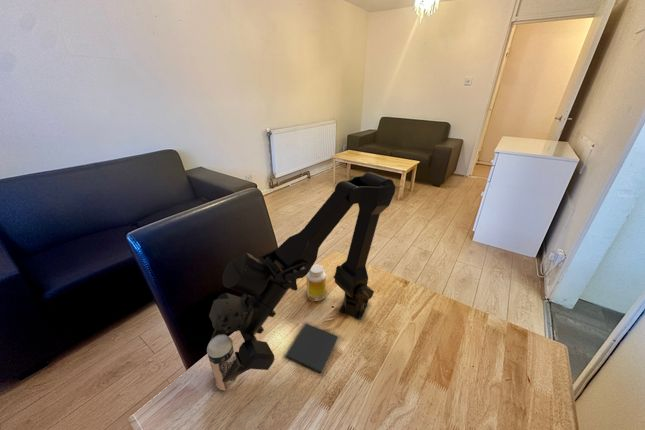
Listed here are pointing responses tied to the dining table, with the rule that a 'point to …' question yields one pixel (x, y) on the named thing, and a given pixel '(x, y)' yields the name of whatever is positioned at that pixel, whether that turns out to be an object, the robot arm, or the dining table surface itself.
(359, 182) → the robot arm
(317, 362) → the can mat
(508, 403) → the dining table surface
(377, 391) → the dining table surface
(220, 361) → the beer can
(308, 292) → the supplement bottle
